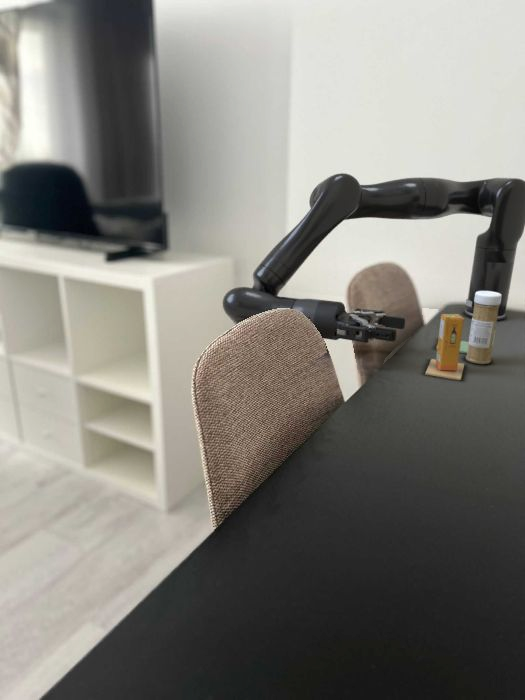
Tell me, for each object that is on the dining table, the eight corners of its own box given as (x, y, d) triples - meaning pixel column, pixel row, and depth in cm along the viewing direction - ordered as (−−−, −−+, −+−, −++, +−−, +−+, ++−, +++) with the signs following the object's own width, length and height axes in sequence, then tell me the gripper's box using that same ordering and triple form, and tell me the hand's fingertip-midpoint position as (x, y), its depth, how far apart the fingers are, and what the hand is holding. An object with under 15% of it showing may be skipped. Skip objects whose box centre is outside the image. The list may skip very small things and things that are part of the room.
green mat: (439, 339, 111) (440, 337, 111) (469, 343, 109) (469, 341, 109) (436, 349, 105) (436, 347, 105) (467, 353, 103) (467, 351, 103)
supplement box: (452, 365, 96) (460, 313, 92) (457, 371, 92) (465, 318, 89) (434, 364, 96) (441, 312, 92) (438, 371, 93) (445, 317, 89)
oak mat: (431, 360, 99) (431, 358, 99) (464, 365, 96) (464, 363, 96) (425, 374, 92) (425, 372, 92) (460, 380, 90) (461, 378, 89)
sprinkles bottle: (494, 361, 99) (506, 293, 95) (484, 366, 96) (495, 296, 92) (471, 355, 102) (481, 288, 98) (460, 360, 99) (471, 292, 95)
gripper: (306, 308, 94) (395, 319, 88) (329, 292, 107) (409, 301, 100) (304, 346, 97) (391, 360, 91) (327, 327, 109) (405, 337, 103)
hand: (400, 329), depth 95 cm, fingers open, 8 cm apart
